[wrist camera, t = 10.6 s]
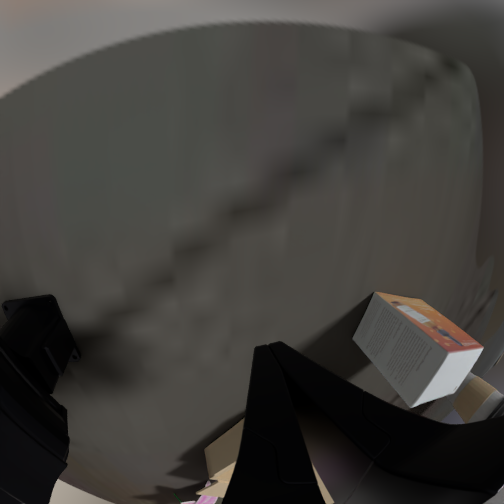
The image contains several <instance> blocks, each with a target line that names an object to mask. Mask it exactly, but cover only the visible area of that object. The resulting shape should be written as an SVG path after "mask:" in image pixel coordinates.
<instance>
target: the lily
mask: <svg viewBox="0 0 504 504" xmlns="http://www.w3.org/2000/svg"><path fill="white" fill-rule="evenodd" d="M209 485H211V483H210V481H209V480H208V481H207V483H206V486H205V487H207V486H209ZM174 495H175V497H176V498H177V499H178V500H179V501H180V502H181V504H214V503H215V502H216V500H217V498H218V497H214V496H206V495H201V496H200V498H199V500H198V501H189V502H182V501H181V500H180V499H179V498H178V497H177V496H176V494H175V493H174ZM195 502H196V503H195Z"/></svg>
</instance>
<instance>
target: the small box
mask: <svg viewBox="0 0 504 504" xmlns="http://www.w3.org/2000/svg"><path fill="white" fill-rule="evenodd" d="M353 341H354V342H355V343H356V344H357V345H358V346H359V347H360V349H361V350H362V351H363V352H364V353H365V355H366V356H367V357H368V358H369V359H370V360H371V362H372V363H373V364H374V365H375V366H376V368H377V369H378V370H379V371H380V372H381V374H382V375H383V376H384V377H385V378H386V380H387V381H388V382H389V383H390V384H391V386H392V387H393V388H394V389H395V390H396V392H397V393H398V394H399V395H400V396H401V398H402V399H403V400H404V401H405V402H406V404H407V405H408V406H409V407H410V408H412V407H415V406H418V405H419V404H422V403H425V402H428V401H432V400H435V399H437V398H440V397H443V396H446V395H450V394H453V393H454V392H455V391H456V390H457V389H458V387H459V386H460V384H461V383H462V381H463V380H464V379H465V377H466V376H467V374H468V373H469V371H470V370H471V368H472V367H473V365H474V363H475V362H476V360H477V359H478V357H479V355H480V354H481V352H482V350H483V346H482V345H480V344H479V343H478V342H477V341H475V340H474V339H473V338H471V337H470V336H469V335H468V334H466V333H465V332H464V331H463V330H461V329H460V328H459V327H457V326H456V325H455V324H454V323H452V322H451V321H450V320H448V319H447V318H446V317H444V316H443V315H442V314H440V313H439V312H438V311H436V310H435V309H433V308H432V307H431V306H429V305H428V304H427V303H425V302H424V301H422V300H421V299H414V298H407V297H402V296H396V295H391V294H386V293H380V292H374V294H373V296H372V299H371V301H370V303H369V305H368V308H367V310H366V312H365V314H364V316H363V318H362V320H361V322H360V324H359V326H358V328H357V330H356V332H355V334H354V336H353Z"/></svg>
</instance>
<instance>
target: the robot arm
mask: <svg viewBox="0 0 504 504" xmlns="http://www.w3.org/2000/svg"><path fill="white" fill-rule="evenodd" d="M49 300H51V301H52V303H51V302H50V301H49ZM6 306H7V307H6ZM2 308H3V311H4V313H5V315H6V317H7V320H8V321H7V322H6V323H5V324H4V326H3V327H2V328H1V329H0V504H49V502H50V497H51V494H52V491H53V488H54V485H55V483H56V481H57V479H58V477H59V476H60V474H61V473H62V472H63V471H64V470H65V468H66V467H67V463H66V460H67V457H68V453H69V444H70V438H69V436H68V423H67V409H66V408H65V407H64V406H62V405H60V404H59V403H58V402H57V401H56V400H55V399H54V398H53V397H52V396H51V395H50V394H52V393H53V391H54V388H55V386H56V383H57V381H58V378H59V376H62V375H63V373H64V371H65V368H66V366H67V363H68V362H77V361H79V360H80V358H81V354H80V352H79V350H78V348H77V346H76V343H75V341H74V339H73V337H72V334H71V332H70V330H69V328H68V326H67V323H66V321H65V319H64V318H63V315H62V313H61V311H60V308H59V306H58V303H57V301H56V298H55V297H54V296H53V295H50V294H49V295H42V296H35V297H29V298H22V299H15V300H9V301H5V302H4V303H3V304H2ZM74 355H75V356H74ZM76 356H77V357H76ZM311 462H312V463H311ZM312 464H313V466H314V467H315V469H316V471H317V473H318V475H319V476H320V478H321V480H322V482H323V484H324V485H325V487H326V489H327V491H328V492H329V494H330V496H331V498H332V499H333V501H334V503H335V504H504V415H503V416H499V417H495V418H491V419H486V420H481V421H477V422H471V423H466V424H447V423H443V422H439V421H436V420H433V419H430V418H427V417H424V416H421V415H418V414H415V413H413V412H410V411H407V410H405V409H402V408H400V407H397V406H395V405H392V404H390V403H388V402H386V401H384V400H382V399H380V398H378V397H376V396H374V395H372V394H370V393H368V392H366V391H363V389H361V388H359V387H357V386H355V385H354V384H352V383H350V382H348V381H347V380H345V379H343V378H341V377H340V376H338V375H336V374H334V373H333V372H331V371H329V370H328V369H326V368H324V367H323V366H321V365H319V364H317V363H316V362H314V361H312V360H311V359H309V358H308V357H306V356H304V355H303V354H301V353H299V352H298V351H296V350H294V349H293V348H291V347H290V346H288V345H286V344H285V343H283V342H281V341H278V342H274V343H270V344H269V345H266V344H265V345H261V346H256V347H255V348H254V354H253V362H252V369H251V376H250V383H249V390H248V397H247V404H246V411H245V418H244V424H243V430H242V437H241V442H240V447H239V452H238V457H237V460H236V463H235V467H234V470H233V473H232V476H231V479H230V482H229V485H228V487H227V490H226V493H225V495H224V498H223V501H222V504H326V503H325V500H324V498H323V496H322V493H321V491H320V488H319V485H318V481H317V478H316V475H315V472H314V469H313V466H312Z"/></svg>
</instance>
